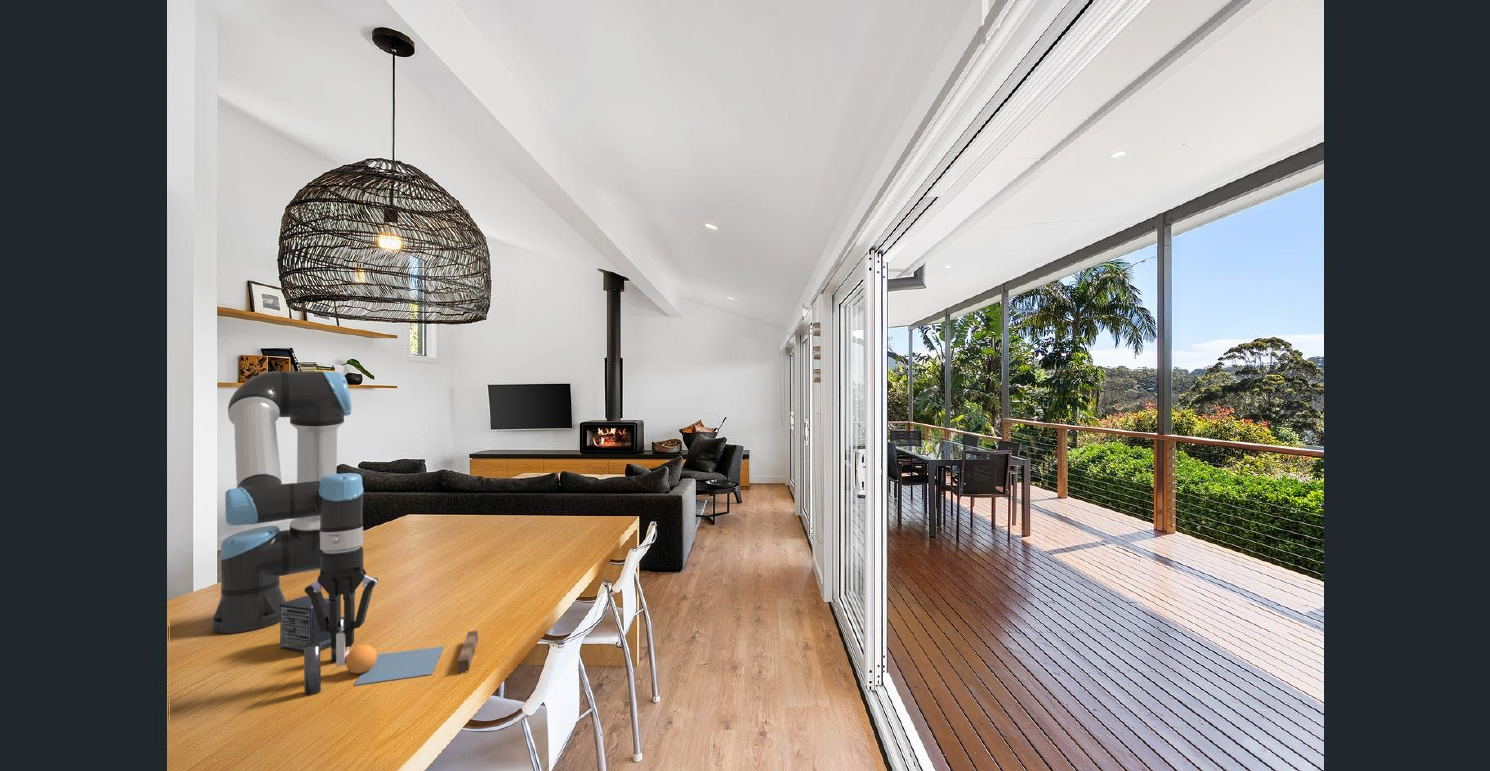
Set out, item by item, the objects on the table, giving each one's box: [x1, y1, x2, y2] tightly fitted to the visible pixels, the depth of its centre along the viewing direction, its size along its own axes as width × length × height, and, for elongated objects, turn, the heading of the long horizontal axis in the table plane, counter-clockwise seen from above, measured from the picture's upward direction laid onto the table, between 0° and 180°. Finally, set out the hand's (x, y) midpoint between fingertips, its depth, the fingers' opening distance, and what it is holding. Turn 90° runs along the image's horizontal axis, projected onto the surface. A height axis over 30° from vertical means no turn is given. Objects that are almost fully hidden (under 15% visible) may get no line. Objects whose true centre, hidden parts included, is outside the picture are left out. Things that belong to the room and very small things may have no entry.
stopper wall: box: [457, 630, 479, 674], centre depth 133 cm, size 16×2×2 cm, turn 17°
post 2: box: [330, 616, 344, 664], centre depth 132 cm, size 3×3×9 cm
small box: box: [279, 595, 331, 654], centre depth 140 cm, size 11×6×10 cm, turn 71°
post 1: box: [303, 643, 322, 697], centre depth 118 cm, size 3×3×9 cm
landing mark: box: [354, 645, 445, 687], centre depth 130 cm, size 14×14×1 cm
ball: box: [345, 644, 378, 674], centre depth 127 cm, size 6×6×6 cm
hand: (342, 662), depth 126 cm, fingers closed
